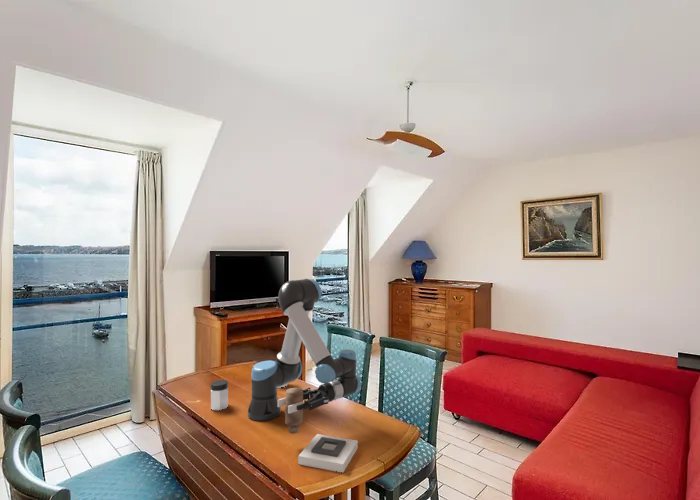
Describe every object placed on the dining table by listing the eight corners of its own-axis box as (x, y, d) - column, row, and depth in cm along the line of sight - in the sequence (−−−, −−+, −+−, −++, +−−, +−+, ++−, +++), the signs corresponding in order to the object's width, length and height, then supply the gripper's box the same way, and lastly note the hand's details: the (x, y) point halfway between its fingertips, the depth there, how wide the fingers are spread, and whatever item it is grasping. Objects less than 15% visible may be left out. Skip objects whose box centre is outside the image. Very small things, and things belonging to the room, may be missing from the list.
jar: (223, 402, 193) (222, 378, 193) (232, 406, 188) (232, 381, 188) (206, 407, 186) (206, 383, 186) (215, 412, 181) (215, 387, 181)
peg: (282, 433, 148) (282, 393, 148) (290, 425, 154) (290, 386, 154) (298, 436, 146) (298, 395, 146) (305, 428, 152) (306, 389, 152)
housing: (298, 464, 137) (298, 453, 137) (317, 441, 154) (317, 431, 154) (343, 472, 132) (343, 461, 132) (357, 448, 148) (357, 438, 148)
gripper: (345, 408, 155) (297, 425, 139) (315, 393, 169) (269, 407, 154) (345, 389, 154) (297, 405, 139) (316, 376, 169) (270, 389, 154)
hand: (283, 406), depth 147 cm, fingers closed on peg, 7 cm apart
